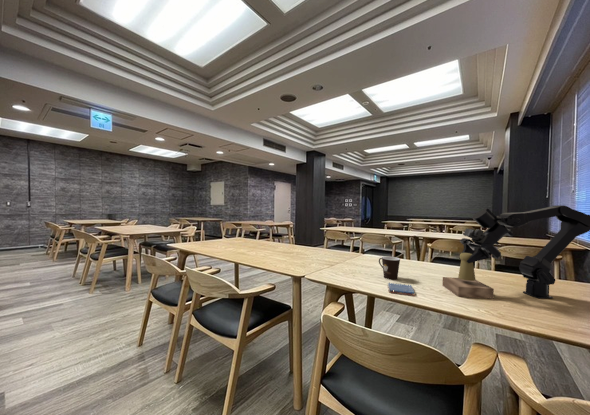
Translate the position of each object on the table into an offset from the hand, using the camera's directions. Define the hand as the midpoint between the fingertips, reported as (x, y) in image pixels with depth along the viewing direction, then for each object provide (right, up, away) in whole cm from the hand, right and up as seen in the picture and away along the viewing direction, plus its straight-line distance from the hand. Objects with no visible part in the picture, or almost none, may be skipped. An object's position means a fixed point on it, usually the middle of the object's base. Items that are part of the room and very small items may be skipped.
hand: (463, 260), depth 101 cm
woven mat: (-27, -14, +1) cm, 30 cm away
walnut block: (+1, -13, 0) cm, 13 cm away
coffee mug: (-24, -13, +20) cm, 34 cm away
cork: (+1, -8, 0) cm, 8 cm away
